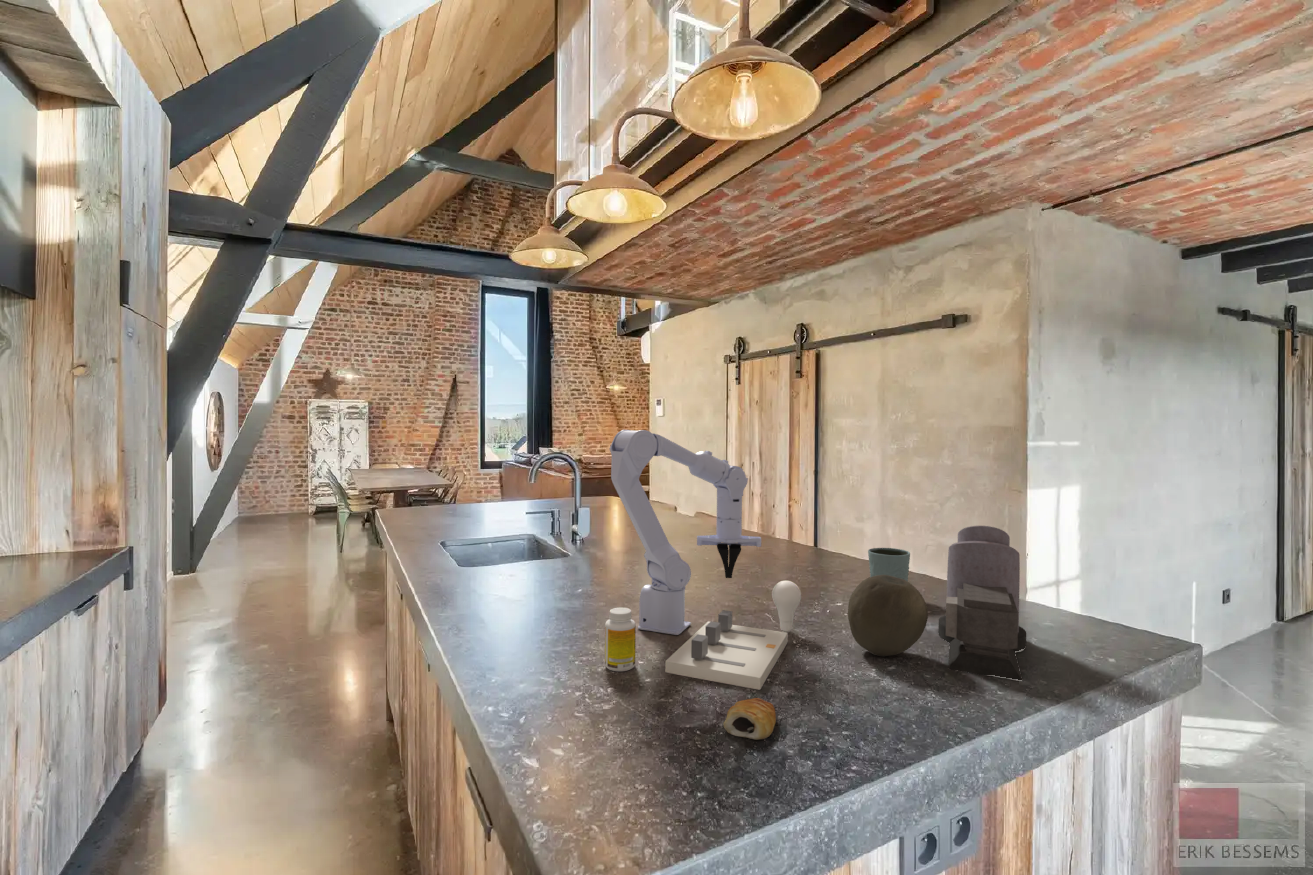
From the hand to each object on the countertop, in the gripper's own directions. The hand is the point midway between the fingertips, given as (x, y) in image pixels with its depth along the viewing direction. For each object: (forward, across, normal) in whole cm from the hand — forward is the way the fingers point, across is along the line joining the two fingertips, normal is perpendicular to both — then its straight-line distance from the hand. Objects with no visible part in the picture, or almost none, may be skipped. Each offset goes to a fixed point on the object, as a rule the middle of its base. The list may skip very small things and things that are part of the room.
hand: (728, 577), depth 136 cm
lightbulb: (+10, +12, -9) cm, 17 cm away
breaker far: (+7, -2, -14) cm, 16 cm away
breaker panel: (+9, -1, -23) cm, 25 cm away
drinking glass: (+10, +43, +20) cm, 48 cm away
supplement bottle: (+10, -22, -29) cm, 38 cm away
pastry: (+10, 0, -49) cm, 50 cm away
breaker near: (+7, -7, -29) cm, 31 cm away
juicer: (+10, +50, -15) cm, 53 cm away
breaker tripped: (+7, -4, -22) cm, 23 cm away
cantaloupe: (+10, +29, -19) cm, 36 cm away
